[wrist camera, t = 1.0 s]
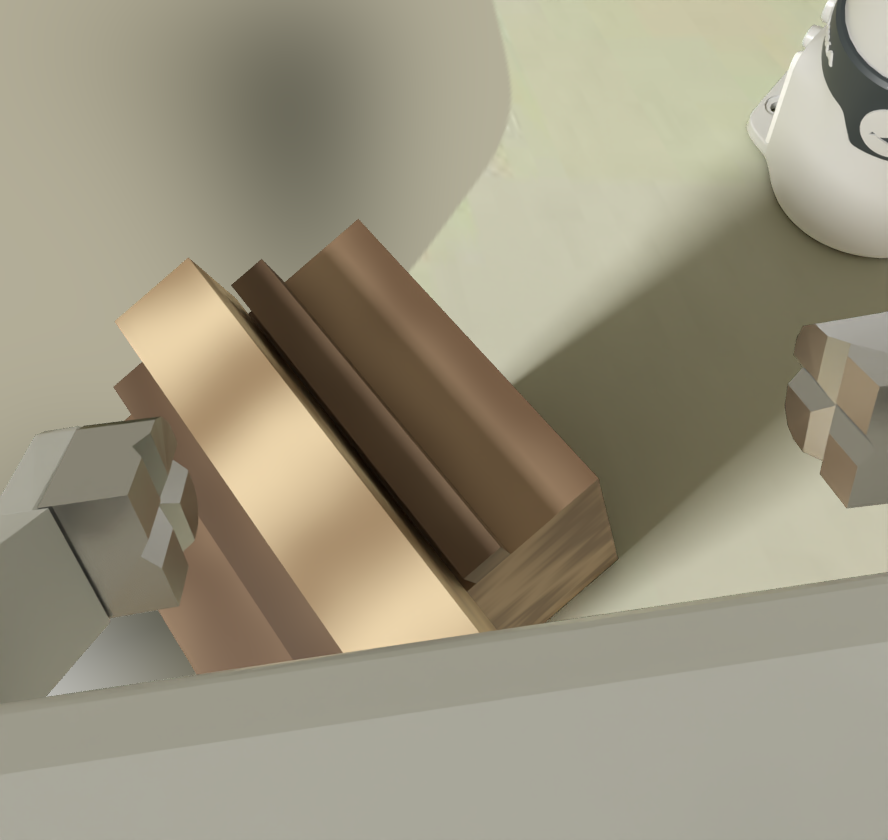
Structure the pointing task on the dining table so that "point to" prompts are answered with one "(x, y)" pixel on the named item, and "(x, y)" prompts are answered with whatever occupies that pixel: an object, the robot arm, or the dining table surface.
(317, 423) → the oak bar
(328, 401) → the walnut mount
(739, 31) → the dining table surface
